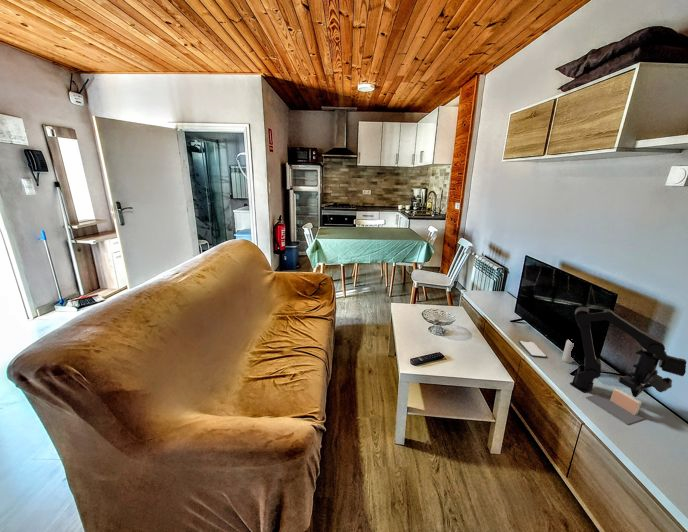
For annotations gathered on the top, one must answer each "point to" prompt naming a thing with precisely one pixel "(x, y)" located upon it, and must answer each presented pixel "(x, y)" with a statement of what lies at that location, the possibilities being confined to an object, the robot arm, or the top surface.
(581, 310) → the robot arm
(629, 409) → the block
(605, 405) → the mat
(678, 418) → the top surface
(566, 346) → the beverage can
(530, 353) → the phone case
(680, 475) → the top surface
